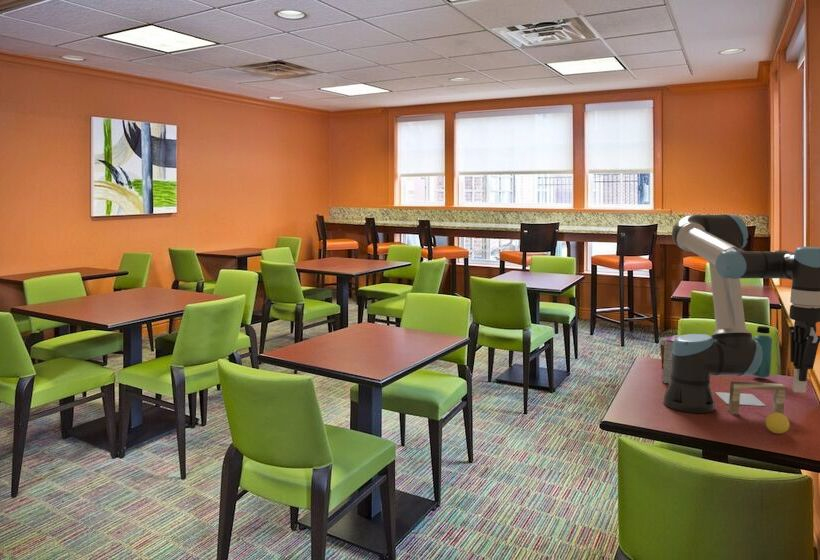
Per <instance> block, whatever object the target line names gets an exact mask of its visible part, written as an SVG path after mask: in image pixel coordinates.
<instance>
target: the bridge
mask: <svg viewBox="0 0 820 560" xmlns="http://www.w3.org/2000/svg"><path fill="white" fill-rule="evenodd" d="M741 389H744V390H745V389H750V390H768V391H774V393H773V402H772V413H781V414H783V415H785V414H784V411H785V403H786V391H787V390H786V389H787V386H786V385H784V384H782V383H771V382H770V383H769V382H749V381H748V382H747V381H731V380H730V387H729V393H730V398H729V404H728V412H729V413H730V414H732V415H739V414H740V413H739V411H740V405H739V402H740V393H741V391H742V390H741Z"/></svg>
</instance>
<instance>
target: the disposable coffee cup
mask: <svg viewBox="0 0 820 560" xmlns="http://www.w3.org/2000/svg"><path fill="white" fill-rule="evenodd" d="M670 337H671V336H662V337H661V338H660V339H659V345H660V359H661V361H660V362H661V369H663V361H664V340H666V339H668V338H670Z"/></svg>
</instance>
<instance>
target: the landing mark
mask: <svg viewBox="0 0 820 560" xmlns="http://www.w3.org/2000/svg"><path fill="white" fill-rule="evenodd" d="M714 393H715V394H716V395H717V396H718V397H719V398H720V399H721V400H722V401H723V402H724V403H725V404H726V405H729V398H730V392H723V391H718V392H717V391H715V392H714ZM739 406H753V407H754V406H755V407H757V406H758V407H767V406H766V404H765V403H763V402H762V401H761V400H760V399H758V398H757V397H756V396H755V395H754V394H752V393H741V392H740V402H739Z"/></svg>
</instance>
